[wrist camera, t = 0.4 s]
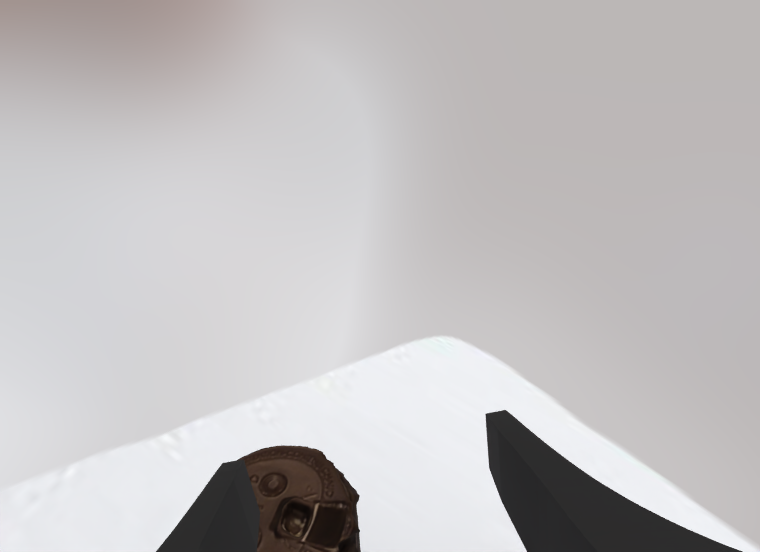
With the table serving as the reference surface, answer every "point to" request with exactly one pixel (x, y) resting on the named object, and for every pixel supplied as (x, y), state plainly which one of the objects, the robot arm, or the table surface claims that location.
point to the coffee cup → (302, 501)
